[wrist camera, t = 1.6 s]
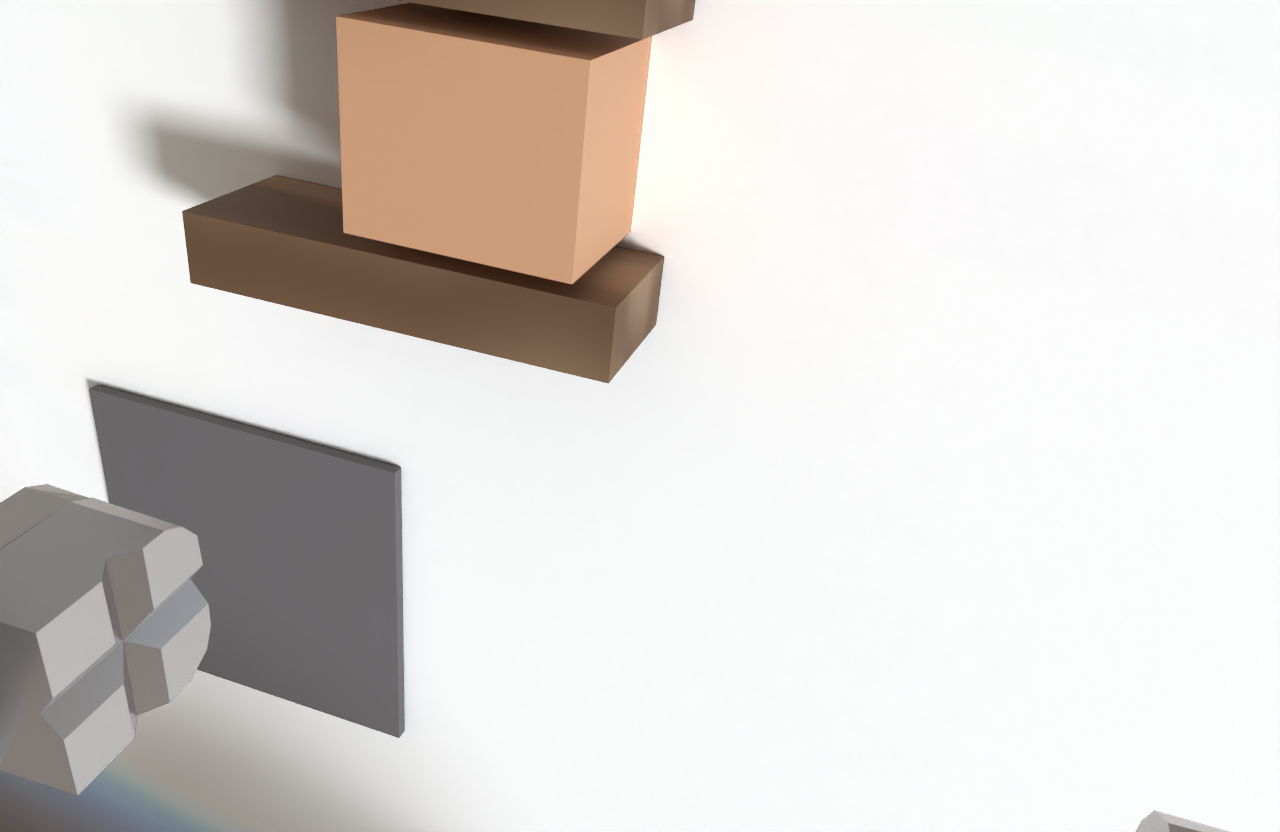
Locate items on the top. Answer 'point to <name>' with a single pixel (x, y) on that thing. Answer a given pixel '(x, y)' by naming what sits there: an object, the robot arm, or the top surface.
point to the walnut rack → (432, 283)
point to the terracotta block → (489, 136)
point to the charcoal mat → (274, 551)
